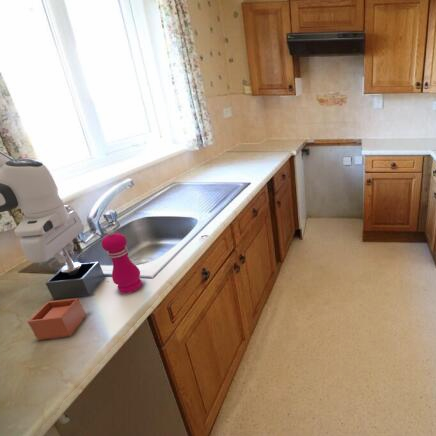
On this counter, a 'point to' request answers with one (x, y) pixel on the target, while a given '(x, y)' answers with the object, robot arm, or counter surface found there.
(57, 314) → the terracotta block
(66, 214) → the robot arm
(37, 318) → the terracotta bin
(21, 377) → the counter surface
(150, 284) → the counter surface
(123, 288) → the pepper mill
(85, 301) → the counter surface
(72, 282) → the grey bin
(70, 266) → the screw
